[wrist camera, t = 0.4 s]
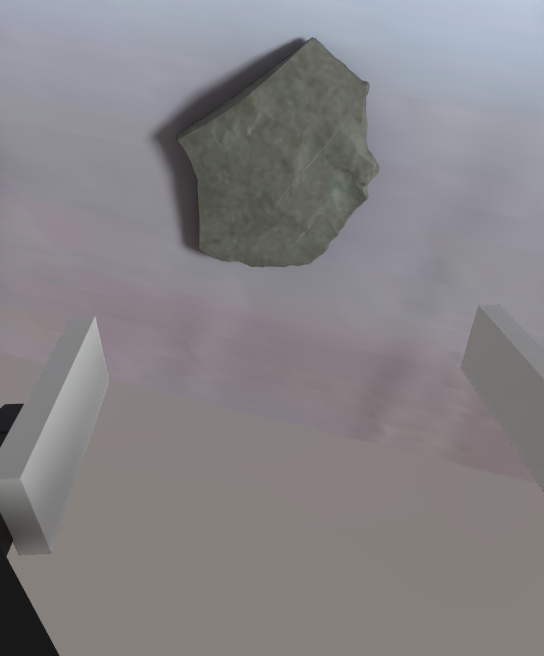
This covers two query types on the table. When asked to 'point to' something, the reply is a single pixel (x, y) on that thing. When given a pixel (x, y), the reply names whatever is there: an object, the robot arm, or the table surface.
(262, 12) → the table surface
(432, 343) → the table surface
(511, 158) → the table surface
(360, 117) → the stone
